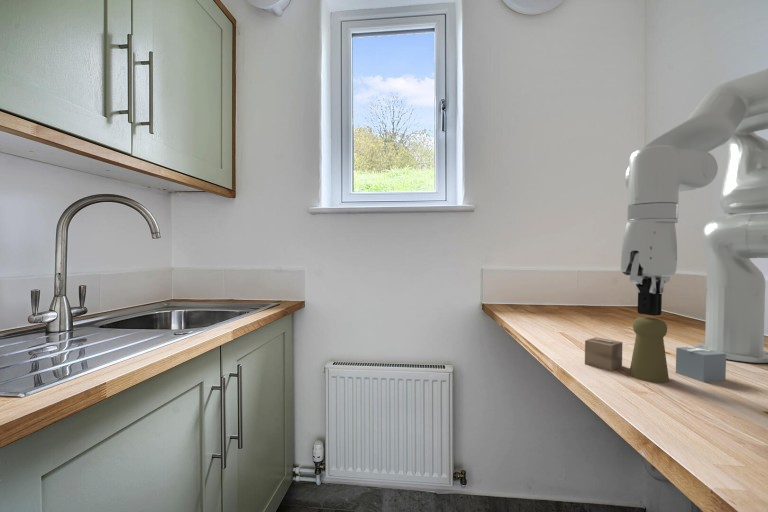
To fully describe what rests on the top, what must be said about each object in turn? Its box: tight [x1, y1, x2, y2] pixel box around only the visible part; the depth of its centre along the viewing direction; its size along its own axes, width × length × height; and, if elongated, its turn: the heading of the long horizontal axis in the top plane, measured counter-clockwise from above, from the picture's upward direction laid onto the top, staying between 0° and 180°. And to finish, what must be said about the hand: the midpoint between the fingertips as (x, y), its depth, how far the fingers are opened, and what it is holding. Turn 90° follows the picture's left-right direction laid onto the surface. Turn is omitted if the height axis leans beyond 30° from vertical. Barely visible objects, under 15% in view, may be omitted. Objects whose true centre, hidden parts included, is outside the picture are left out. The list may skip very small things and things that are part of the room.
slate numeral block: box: [675, 345, 727, 383], centre depth 68 cm, size 5×5×5 cm
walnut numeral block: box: [584, 336, 623, 372], centre depth 74 cm, size 5×5×5 cm
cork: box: [628, 316, 670, 384], centre depth 67 cm, size 6×6×11 cm
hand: (649, 314), depth 67 cm, fingers closed
